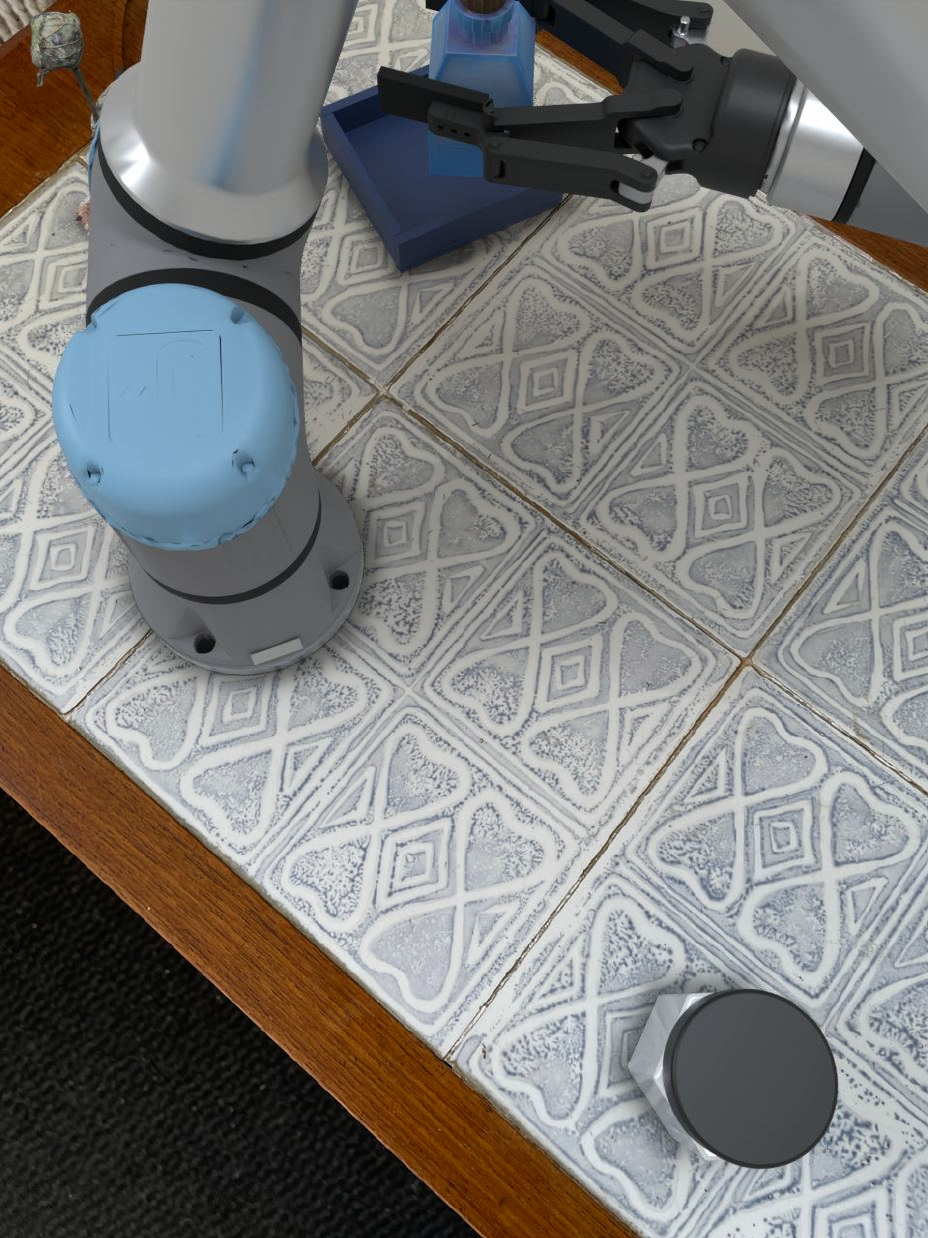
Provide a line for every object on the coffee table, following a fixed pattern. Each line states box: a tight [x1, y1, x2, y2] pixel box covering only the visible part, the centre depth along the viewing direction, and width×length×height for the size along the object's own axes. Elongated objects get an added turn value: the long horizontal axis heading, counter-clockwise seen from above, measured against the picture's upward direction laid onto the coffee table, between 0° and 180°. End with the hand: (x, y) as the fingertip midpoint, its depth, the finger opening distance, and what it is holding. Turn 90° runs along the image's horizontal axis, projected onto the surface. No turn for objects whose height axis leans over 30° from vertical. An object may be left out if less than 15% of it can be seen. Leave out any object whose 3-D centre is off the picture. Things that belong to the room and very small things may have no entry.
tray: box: [319, 63, 564, 273], centre depth 84 cm, size 14×14×3 cm
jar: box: [627, 988, 839, 1170], centre depth 60 cm, size 9×8×12 cm
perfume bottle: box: [428, 0, 536, 177], centre depth 67 cm, size 6×6×12 cm
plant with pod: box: [29, 11, 116, 236], centre depth 75 cm, size 8×11×20 cm
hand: (404, 35), depth 66 cm, fingers closed on perfume bottle, 8 cm apart
